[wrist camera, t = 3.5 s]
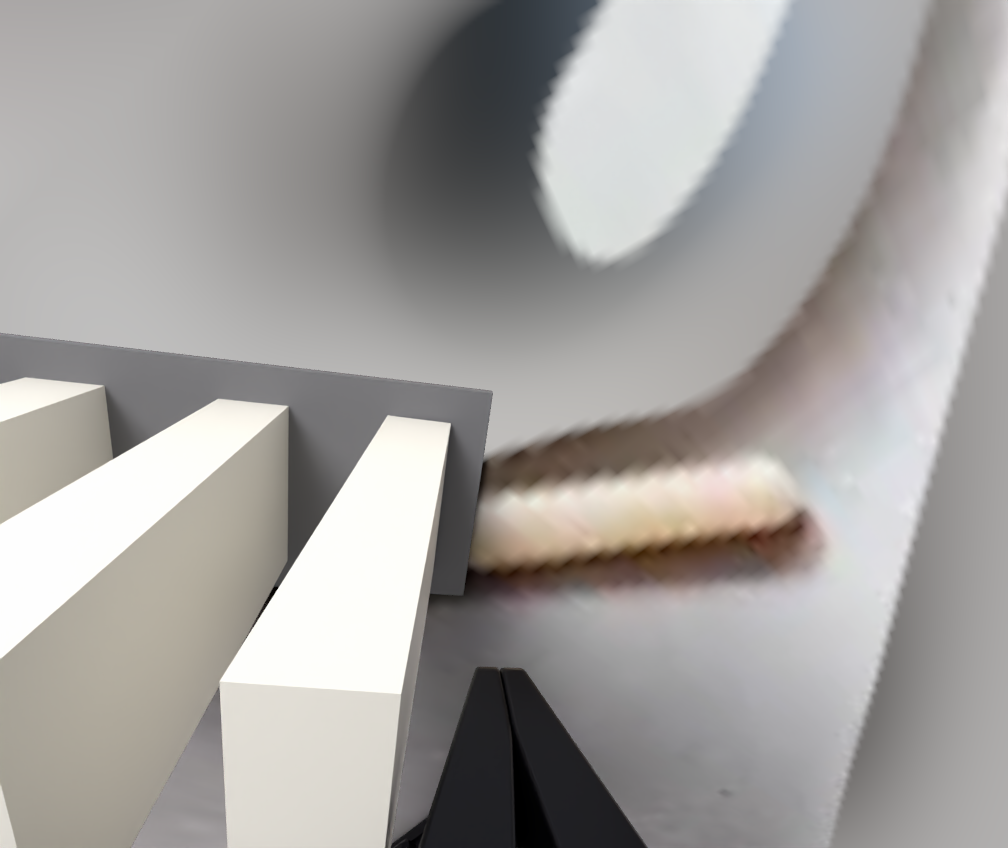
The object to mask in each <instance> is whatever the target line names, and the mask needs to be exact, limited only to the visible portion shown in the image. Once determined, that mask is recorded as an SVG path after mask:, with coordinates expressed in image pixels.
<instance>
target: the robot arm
mask: <svg viewBox="0 0 1008 848" xmlns="http://www.w3.org/2000/svg"><path fill="white" fill-rule="evenodd" d="M391 848H648V847H647V846H646V845H645V843H644V842H643V840H642V839H641V837H640V836H639V834H638V833H637V832H636V830H635V829H634V827H633V826H632V824H631V823H630V821H629V820H628V819H627V817H626V816H625V814H624V813H623V811H622V810H621V808H620V807H619V806H618V804H617V803H616V801H615V800H614V798H613V797H612V796H611V794H610V793H609V791H608V790H607V788H606V787H605V785H604V784H603V783H602V781H601V780H600V778H599V777H598V775H597V774H596V772H595V771H594V770H593V768H592V767H591V765H590V764H589V762H588V761H587V759H586V758H585V757H584V755H583V754H582V752H581V751H580V749H579V748H578V746H577V745H576V744H575V742H574V741H573V739H572V738H571V736H570V735H569V733H568V732H567V731H566V729H565V728H564V726H563V725H562V723H561V722H560V721H559V719H558V718H557V716H556V715H555V713H554V712H553V710H552V709H551V708H550V706H549V705H548V703H547V702H546V700H545V699H544V697H543V696H542V695H541V693H540V692H539V690H538V689H537V687H536V686H535V684H534V683H533V682H532V680H531V679H530V677H529V676H528V674H527V673H526V672H525V671H524V670H523V669H521V668H502V669H500V671H499V669H498V668H496V667H477V668H476V670H475V672H474V675H473V678H472V681H471V684H470V688H469V691H468V694H467V697H466V700H465V703H464V706H463V709H462V713H461V716H460V719H459V722H458V725H457V728H456V731H455V734H454V738H453V741H452V744H451V747H450V750H449V753H448V756H447V759H446V763H445V766H444V769H443V772H442V775H441V778H440V781H439V784H438V788H437V791H436V794H435V797H434V800H433V803H432V806H431V809H430V813H429V816H428V818H427V819H425V820H424V821H423V822H421V823H420V824H419V825H417V826H416V827H415V828H413V829H412V830H411V831H409V832H408V833H407V834H405V835H404V836H403V837H401V838H400V839H399V840H397V841H396V842H395V843H393V844H392V845H391Z"/></svg>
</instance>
